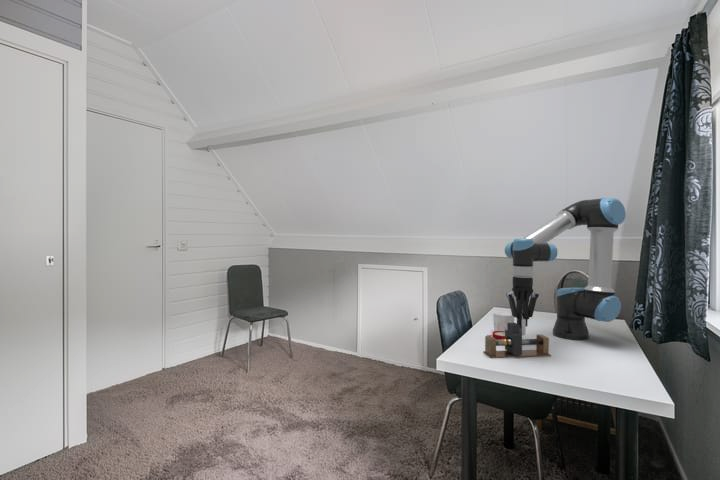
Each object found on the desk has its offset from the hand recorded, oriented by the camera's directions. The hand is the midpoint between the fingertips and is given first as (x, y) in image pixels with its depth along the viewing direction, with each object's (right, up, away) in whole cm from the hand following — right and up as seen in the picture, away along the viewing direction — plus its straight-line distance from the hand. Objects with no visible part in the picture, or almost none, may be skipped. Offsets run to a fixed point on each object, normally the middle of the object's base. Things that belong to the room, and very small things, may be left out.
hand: (522, 334), depth 150 cm
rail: (-2, -8, 0) cm, 8 cm away
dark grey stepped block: (-4, -7, 0) cm, 8 cm away
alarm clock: (0, -8, +16) cm, 18 cm away
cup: (+5, -8, +32) cm, 33 cm away
